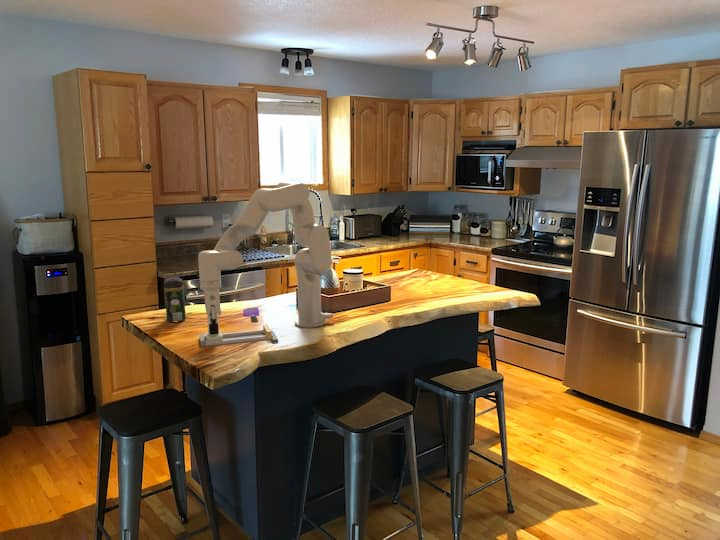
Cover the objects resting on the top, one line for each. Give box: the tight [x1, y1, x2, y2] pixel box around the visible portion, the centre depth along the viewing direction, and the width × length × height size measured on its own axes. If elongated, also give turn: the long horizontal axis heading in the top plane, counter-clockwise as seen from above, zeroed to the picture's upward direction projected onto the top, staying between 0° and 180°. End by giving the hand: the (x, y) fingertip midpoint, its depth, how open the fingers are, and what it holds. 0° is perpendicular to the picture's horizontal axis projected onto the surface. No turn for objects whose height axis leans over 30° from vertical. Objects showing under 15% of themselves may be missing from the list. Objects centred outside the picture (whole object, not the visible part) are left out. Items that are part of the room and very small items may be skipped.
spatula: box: [242, 307, 260, 324], centre depth 253 cm, size 24×7×2 cm, turn 16°
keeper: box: [204, 314, 223, 342], centre depth 219 cm, size 6×6×9 cm
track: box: [198, 324, 279, 348], centre depth 223 cm, size 28×12×4 cm, turn 108°
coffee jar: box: [163, 276, 187, 322], centre depth 252 cm, size 10×8×19 cm
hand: (213, 331), depth 219 cm, fingers closed on keeper, 4 cm apart
